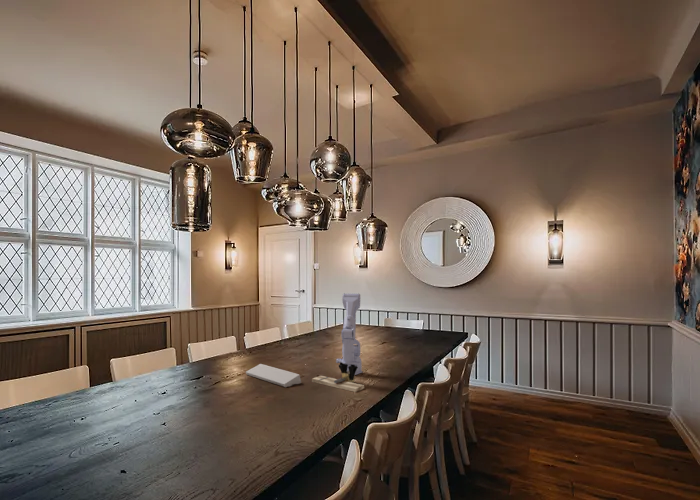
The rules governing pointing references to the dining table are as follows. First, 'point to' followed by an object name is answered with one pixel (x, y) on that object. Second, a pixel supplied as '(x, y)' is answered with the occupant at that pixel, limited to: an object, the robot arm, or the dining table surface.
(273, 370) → the decorative molding
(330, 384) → the maple board
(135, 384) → the dining table surface
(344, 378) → the marking gauge
